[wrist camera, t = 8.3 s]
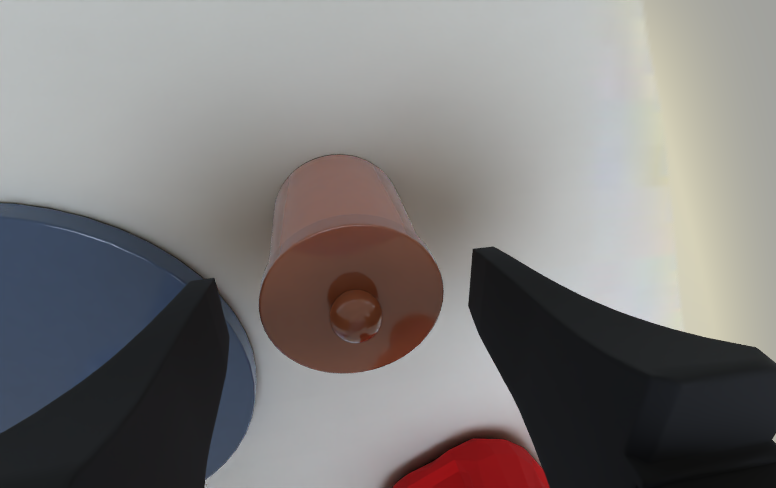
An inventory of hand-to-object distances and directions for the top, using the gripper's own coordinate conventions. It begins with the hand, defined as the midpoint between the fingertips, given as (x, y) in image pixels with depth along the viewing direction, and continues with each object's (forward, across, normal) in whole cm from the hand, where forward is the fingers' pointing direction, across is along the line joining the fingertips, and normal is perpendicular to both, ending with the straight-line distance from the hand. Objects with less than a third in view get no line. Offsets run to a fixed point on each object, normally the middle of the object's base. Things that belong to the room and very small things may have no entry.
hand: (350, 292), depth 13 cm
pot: (+5, 0, 0) cm, 5 cm away
